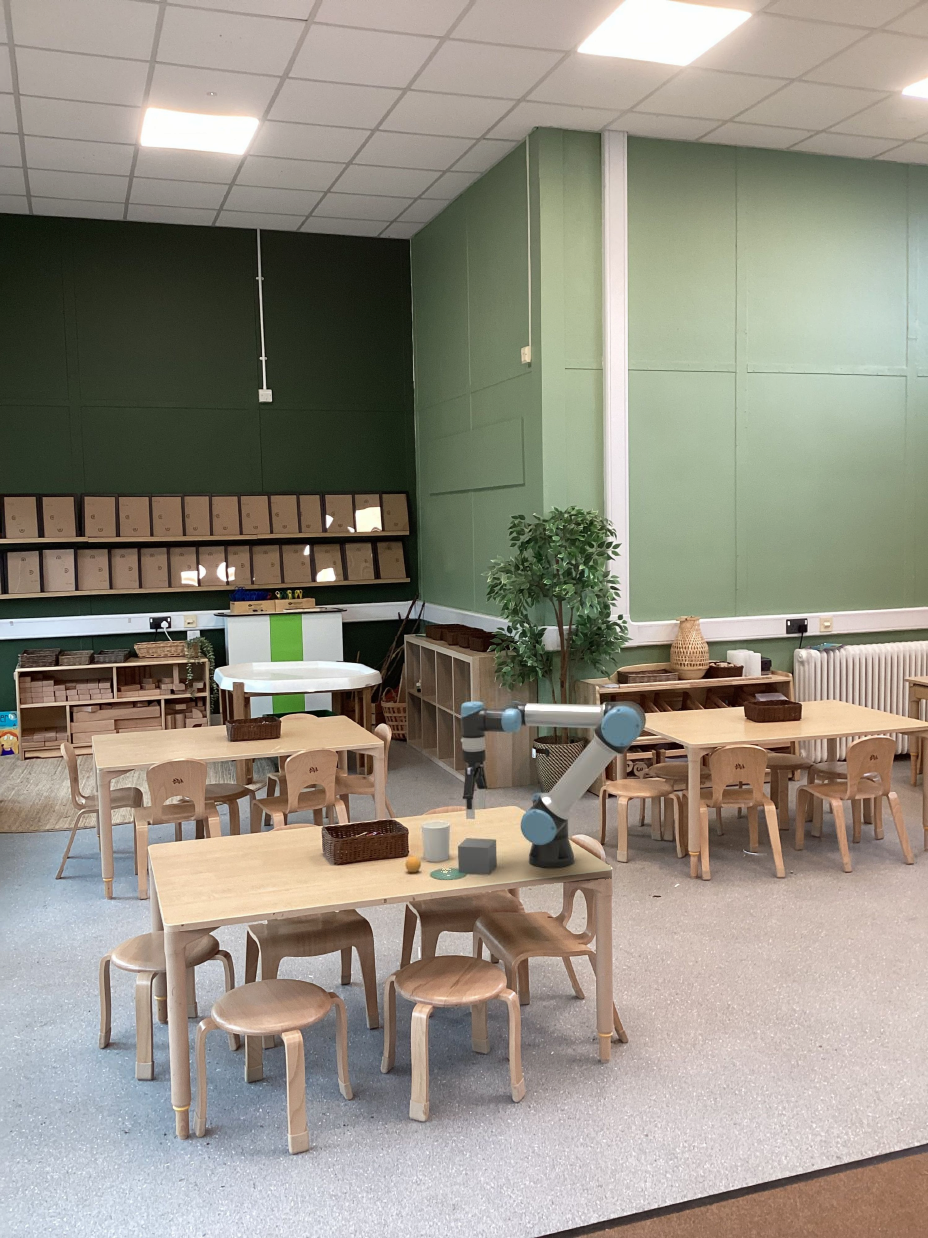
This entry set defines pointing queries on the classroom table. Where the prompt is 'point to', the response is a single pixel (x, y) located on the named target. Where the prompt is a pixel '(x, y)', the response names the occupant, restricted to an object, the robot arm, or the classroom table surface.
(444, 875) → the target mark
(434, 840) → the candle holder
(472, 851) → the grey matte cube
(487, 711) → the robot arm
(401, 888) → the classroom table surface
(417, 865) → the ball
